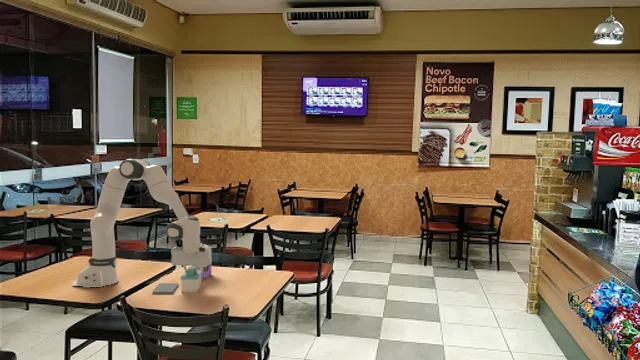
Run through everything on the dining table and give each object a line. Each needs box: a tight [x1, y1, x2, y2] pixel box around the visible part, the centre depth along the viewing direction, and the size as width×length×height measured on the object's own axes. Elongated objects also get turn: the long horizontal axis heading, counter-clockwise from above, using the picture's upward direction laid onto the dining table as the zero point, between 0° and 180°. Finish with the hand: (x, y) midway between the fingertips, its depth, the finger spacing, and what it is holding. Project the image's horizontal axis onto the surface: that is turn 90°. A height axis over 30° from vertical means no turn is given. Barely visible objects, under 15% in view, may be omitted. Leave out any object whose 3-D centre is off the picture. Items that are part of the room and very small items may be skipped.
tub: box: [180, 275, 202, 294], centre depth 251 cm, size 8×12×7 cm, turn 5°
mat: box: [151, 282, 179, 295], centre depth 249 cm, size 10×14×1 cm
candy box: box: [191, 246, 212, 282], centre depth 272 cm, size 14×6×16 cm, turn 168°
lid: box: [180, 265, 202, 280], centre depth 251 cm, size 9×13×5 cm
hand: (191, 273), depth 251 cm, fingers open, 3 cm apart
